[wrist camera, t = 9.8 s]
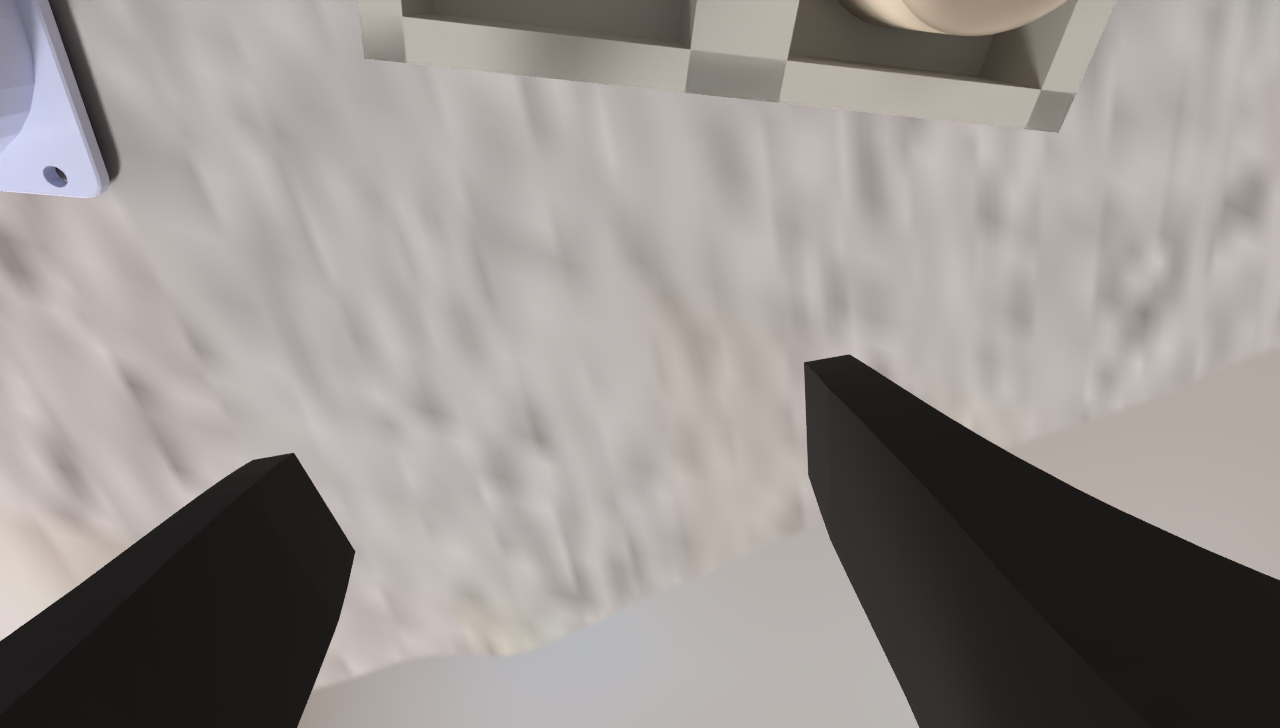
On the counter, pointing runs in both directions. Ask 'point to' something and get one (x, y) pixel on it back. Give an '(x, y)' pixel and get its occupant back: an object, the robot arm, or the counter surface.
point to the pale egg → (951, 14)
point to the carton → (756, 52)
